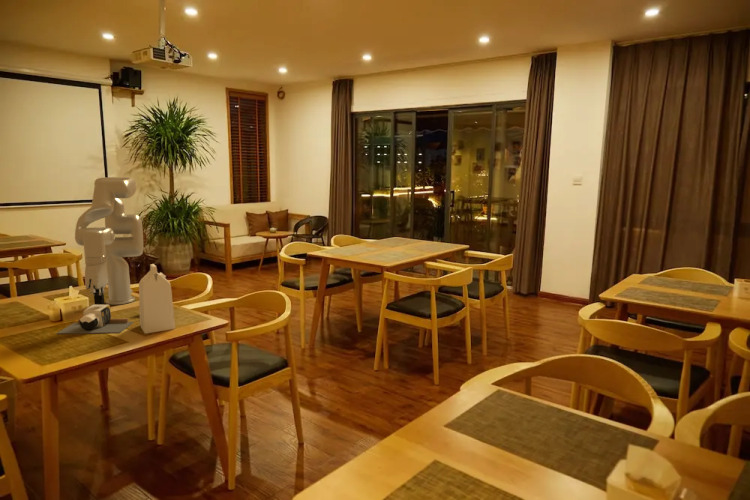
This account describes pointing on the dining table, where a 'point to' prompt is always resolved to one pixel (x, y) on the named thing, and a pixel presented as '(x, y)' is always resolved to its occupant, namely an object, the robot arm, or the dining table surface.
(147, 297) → the milk
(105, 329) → the tipping mat
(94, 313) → the medicine bottle
